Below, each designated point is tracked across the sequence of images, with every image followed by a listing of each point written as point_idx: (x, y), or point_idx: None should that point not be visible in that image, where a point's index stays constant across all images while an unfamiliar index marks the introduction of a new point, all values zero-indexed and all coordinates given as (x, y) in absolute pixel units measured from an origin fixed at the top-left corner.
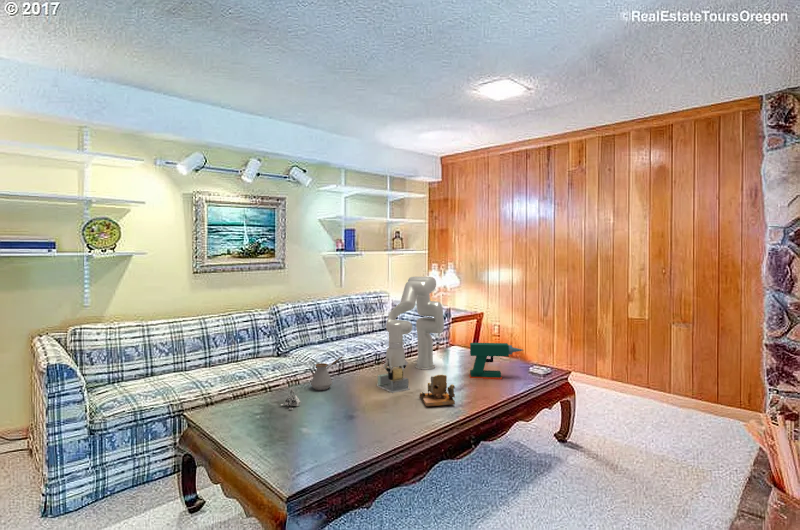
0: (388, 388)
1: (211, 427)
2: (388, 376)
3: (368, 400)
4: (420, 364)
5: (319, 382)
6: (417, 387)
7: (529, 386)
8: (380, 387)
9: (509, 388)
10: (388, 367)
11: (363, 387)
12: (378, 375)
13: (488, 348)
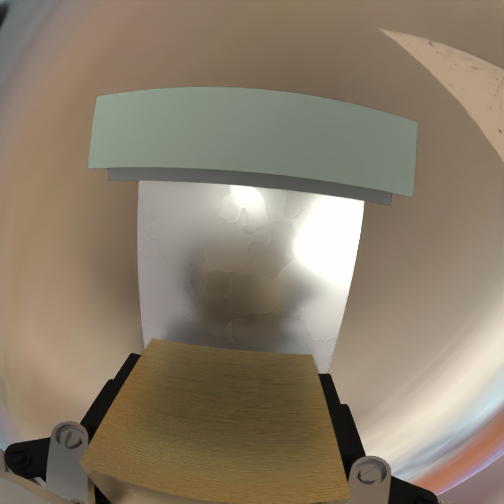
0: (161, 309)
1: None
2: (103, 394)
3: (13, 352)
4: None
5: None
6: (392, 380)
7: (501, 454)
8: (143, 195)
9: (482, 462)
10: (50, 485)
11: (60, 101)
12: (97, 114)
13: None
